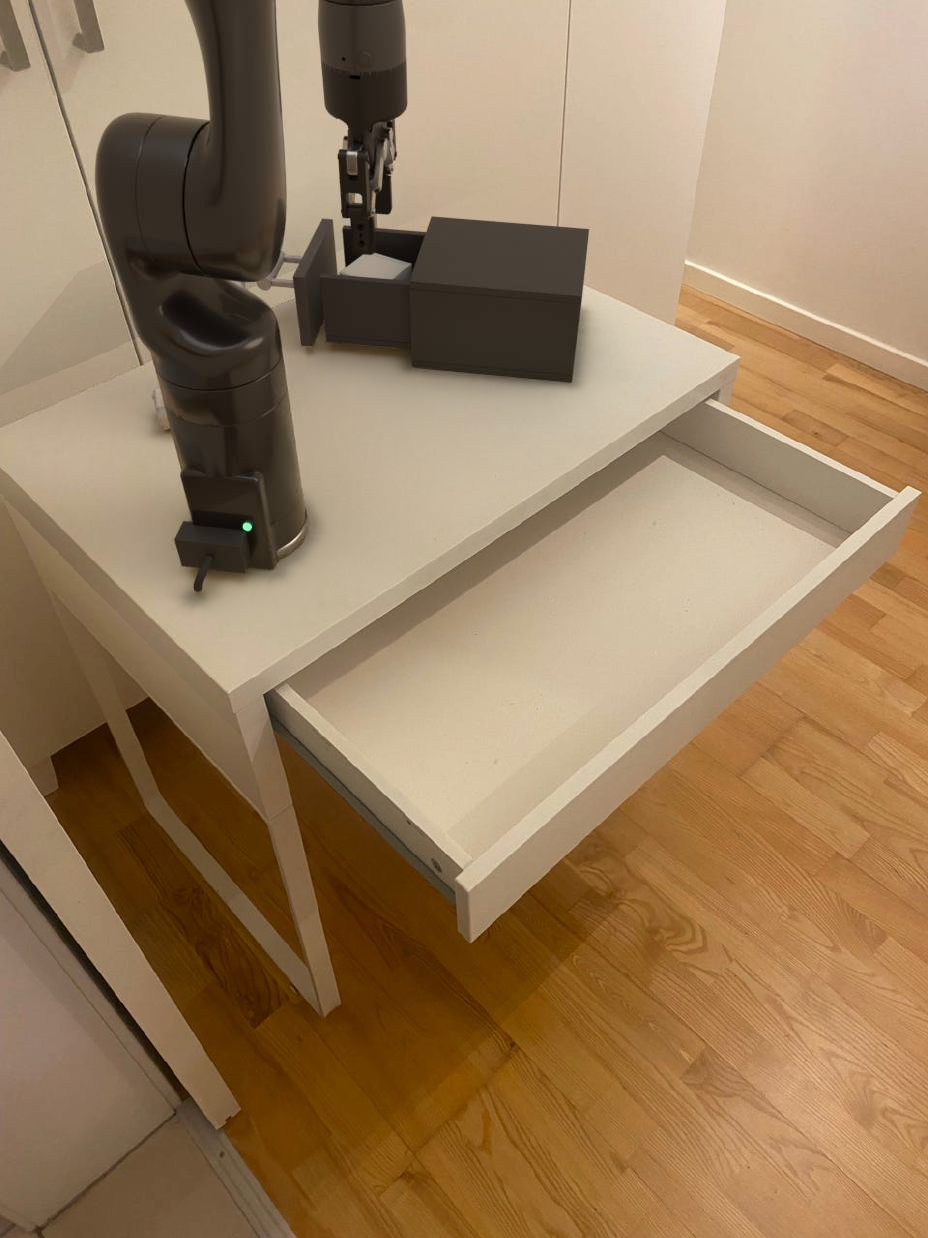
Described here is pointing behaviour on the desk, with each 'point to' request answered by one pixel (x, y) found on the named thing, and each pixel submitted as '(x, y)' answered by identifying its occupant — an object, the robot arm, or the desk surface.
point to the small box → (379, 268)
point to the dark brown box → (497, 298)
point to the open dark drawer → (350, 290)
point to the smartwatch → (160, 408)
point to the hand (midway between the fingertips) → (373, 232)
